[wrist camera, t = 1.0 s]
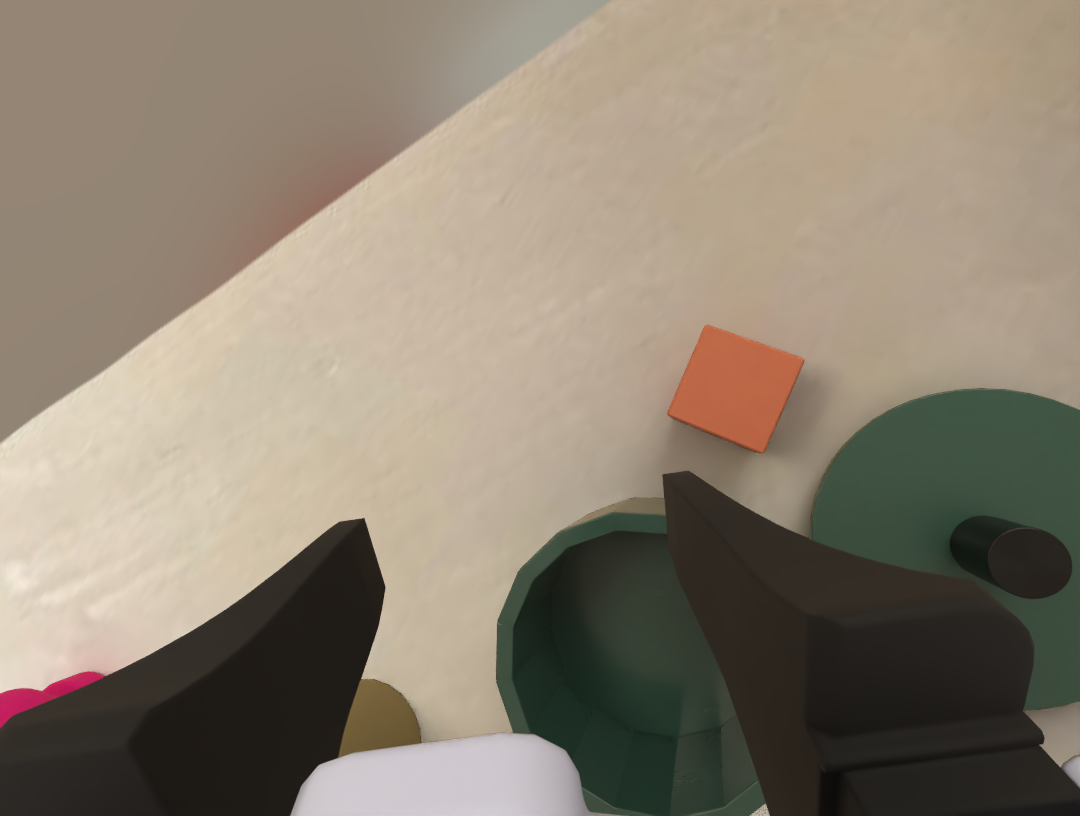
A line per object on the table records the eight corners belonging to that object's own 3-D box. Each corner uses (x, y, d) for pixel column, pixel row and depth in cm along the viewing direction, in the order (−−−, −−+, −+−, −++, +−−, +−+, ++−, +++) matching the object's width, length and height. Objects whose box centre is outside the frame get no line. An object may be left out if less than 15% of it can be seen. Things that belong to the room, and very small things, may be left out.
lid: (1228, 465, 21) (1353, 470, 17) (1081, 760, 22) (1167, 835, 18) (877, 347, 25) (910, 329, 20) (761, 605, 25) (771, 636, 21)
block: (791, 371, 26) (805, 358, 22) (755, 452, 26) (763, 454, 22) (706, 340, 27) (705, 323, 23) (672, 418, 27) (666, 414, 23)
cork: (363, 655, 31) (185, 765, 20) (442, 738, 29) (292, 904, 19) (305, 735, 32) (104, 881, 21) (379, 820, 30) (200, 1023, 20)
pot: (831, 566, 25) (870, 605, 19) (726, 797, 25) (731, 905, 19) (594, 459, 28) (562, 463, 22) (506, 666, 29) (453, 725, 23)
